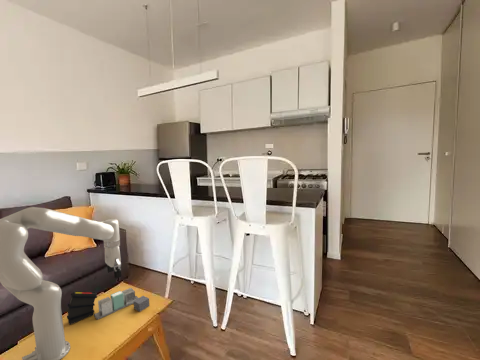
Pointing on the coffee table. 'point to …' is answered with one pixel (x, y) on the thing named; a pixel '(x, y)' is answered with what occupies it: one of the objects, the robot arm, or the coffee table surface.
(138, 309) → the gray brick
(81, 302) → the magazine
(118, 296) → the block
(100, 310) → the rail
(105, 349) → the coffee table surface
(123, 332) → the coffee table surface
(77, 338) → the coffee table surface
